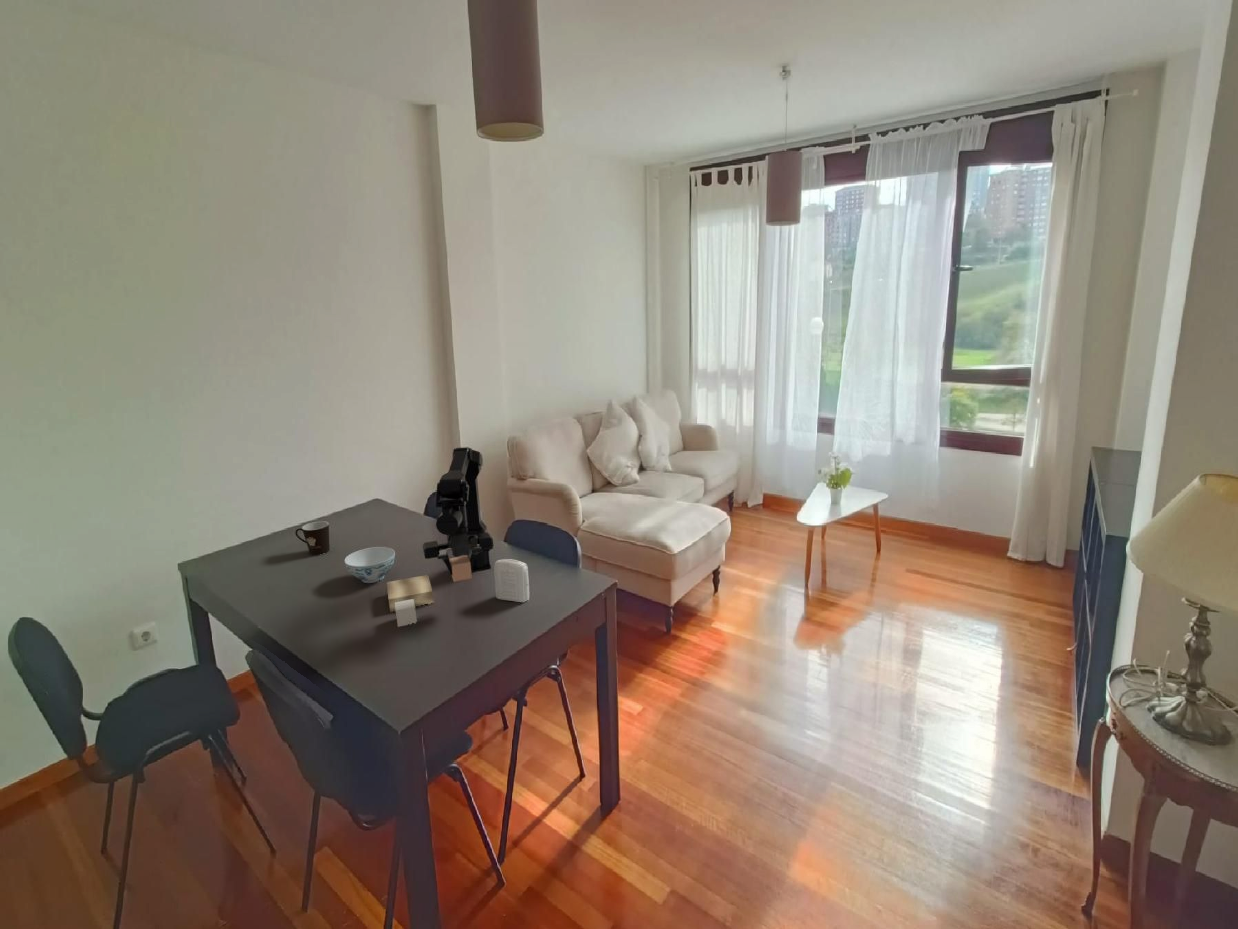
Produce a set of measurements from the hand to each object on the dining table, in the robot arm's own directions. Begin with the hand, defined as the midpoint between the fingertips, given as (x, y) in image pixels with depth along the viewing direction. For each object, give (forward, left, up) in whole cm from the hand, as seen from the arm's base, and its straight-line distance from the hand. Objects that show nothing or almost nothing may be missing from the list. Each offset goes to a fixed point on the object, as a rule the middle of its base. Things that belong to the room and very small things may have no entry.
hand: (461, 573), depth 174 cm
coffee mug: (+42, -65, -11) cm, 78 cm away
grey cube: (+16, +1, -11) cm, 19 cm away
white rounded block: (-14, +1, -11) cm, 18 cm away
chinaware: (+24, -32, -11) cm, 41 cm away
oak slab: (+14, -12, -11) cm, 21 cm away
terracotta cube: (0, 0, -1) cm, 1 cm away
